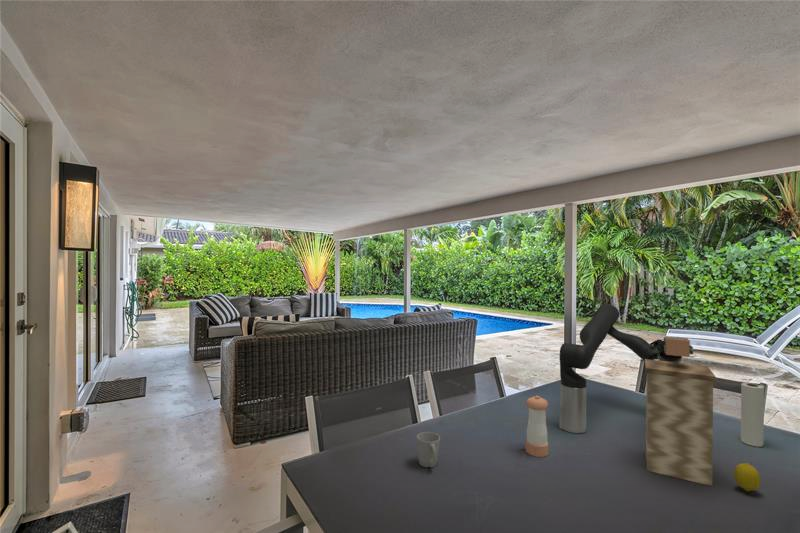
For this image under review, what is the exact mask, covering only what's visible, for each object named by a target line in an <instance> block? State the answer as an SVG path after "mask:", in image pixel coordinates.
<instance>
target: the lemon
mask: <svg viewBox="0 0 800 533" xmlns="http://www.w3.org/2000/svg"><path fill="white" fill-rule="evenodd" d="M733 475H734V476H733V477H734V480H735V482H736V483H737V485H738V486H739V487H740V488H741V489H743V490H744V491H745V492H749V493H750V492H752V491H755V490H758V489H759V488H760V485H761V476H760V473H759V471H758V470H757V468H755V467H754V466H753V465H751V464H750V463H748V462H744V463H739V464H737V465H736V466H735V468H734V472H733Z"/></svg>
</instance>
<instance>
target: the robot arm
mask: <svg viewBox="0 0 800 533" xmlns="http://www.w3.org/2000/svg"><path fill="white" fill-rule="evenodd" d="M620 316H621V314H620V311H619V309H618V308H617V307H616V306H614V305H613V304H610V303H604V304H602V305H601V304H600V306H599V307H598V308H597V310H596V311H595V312H594V314H593V315H592V318H591V319H590V320H588V322H587V323H586V324H585V325H584V326H583V327H582V328H581V330H580V332H579V339H580V342H581V344H576V343H570V342H568V343H567V342H565V343H562V345H561V346H560V348H559V369H560V370H559V372H560V373H559V376H560V403H559V419H558V420H559V426H558V427H559V429H560V430H563V431H565V432H569V433H573V434H584V433H585V432H586V431H587V379H586V378H585V377H583V376H582V375H580V374H578V373H577V372H576V371H575V370H574V369H578V370H586V369H588V368H589V367H590V365H591V363H592V361H593V359H594V357H595V354H596V352H597V351H598V349H599V348H600V346H601V344H603V342H604V341H605V339H606V337H607V335H609V336H610V337H612V338H613V339H614V340H617V341H618V342H620V343H621V344H622V345H624V346H626V348H628V349H629V350H631V351H632V352H633V353H634V354H635V355H636V356H638V357H639V358H640V359H641V360H643V362H645V359H649V360H658V361H667V362H676V363H682V358H683V356H674V355H666V353H665V337H663V340H662V339H656V340H654V341H652V342H650V343H649V342H648V341H647V340H645V339H644V338H643V337H640V336H638V335H636V334H635V335H634V334H629V333H625V332H624V331H623V332H622V331H620V330H618V329H617V328H615V327H614V325H615V323H616V322H617V321H618V320H619V318H620ZM667 336H668V337H670V335H667ZM693 354H694V347H693V346H692V345H691V344H690V355H693Z"/></svg>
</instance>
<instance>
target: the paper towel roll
mask: <svg viewBox="0 0 800 533" xmlns="http://www.w3.org/2000/svg"><path fill="white" fill-rule="evenodd" d="M740 387H741V388H740V390H741V391H740V409H741V410H740V440H741V442H742V443H744V444H746V445H748V446H752V447H757V448H759V447H763V446H764V443H765V442H764V436H765V435H764V434H765V433H764V432H765V428H764V427H765V423H764V421H765V420H764V419H765V409H764V408H765V386H764V385H763V384H761V385H759V384H755V383H750V382H749V383H748V382H745V383H743V382H742V383H741V386H740Z"/></svg>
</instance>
